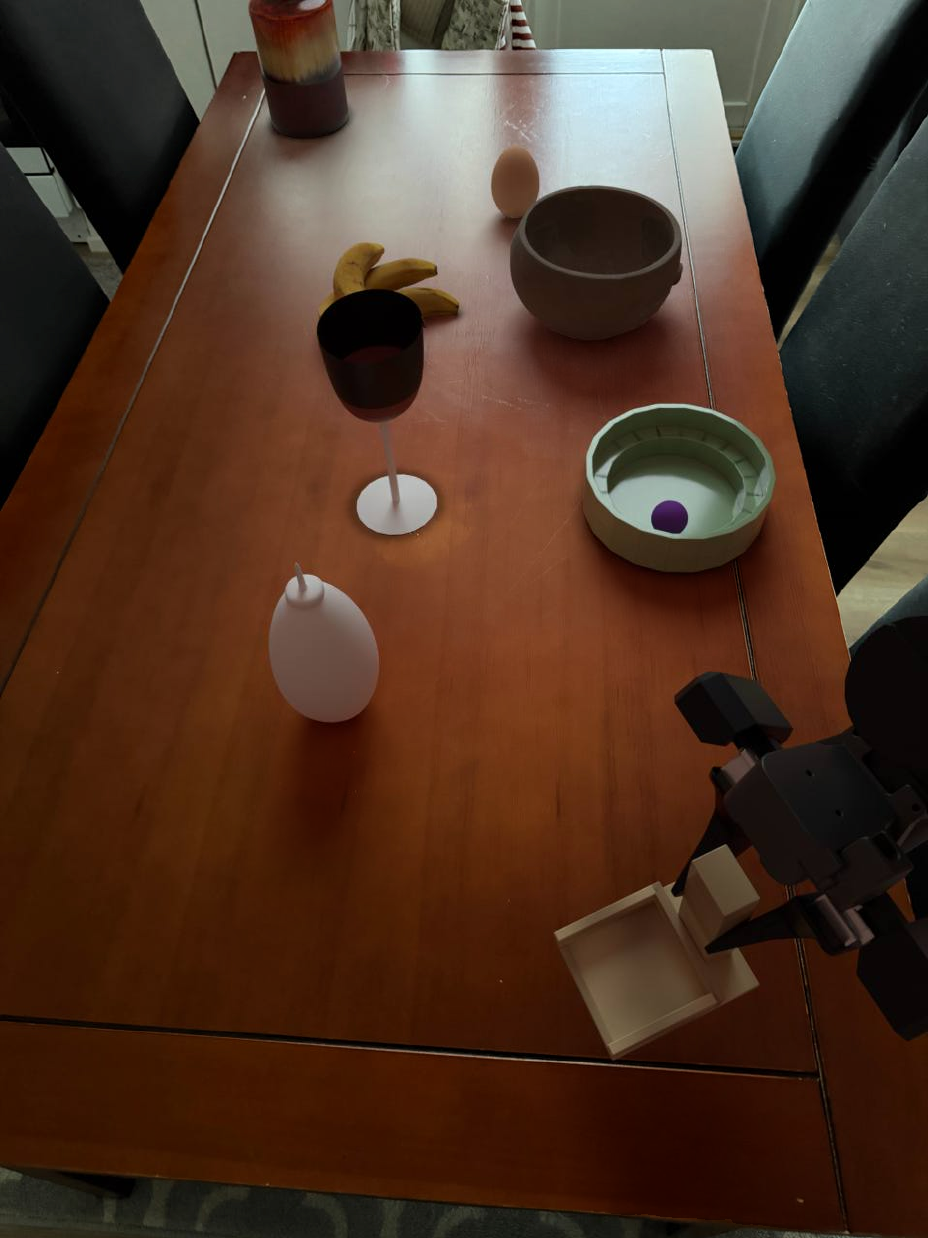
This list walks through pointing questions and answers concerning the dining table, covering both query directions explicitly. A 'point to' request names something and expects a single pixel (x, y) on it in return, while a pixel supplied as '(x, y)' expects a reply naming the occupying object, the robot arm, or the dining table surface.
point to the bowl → (595, 260)
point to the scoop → (661, 954)
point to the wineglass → (379, 392)
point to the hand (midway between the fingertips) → (692, 921)
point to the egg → (515, 182)
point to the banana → (388, 279)
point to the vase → (300, 65)
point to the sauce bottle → (322, 651)
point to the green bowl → (677, 486)
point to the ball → (669, 517)
